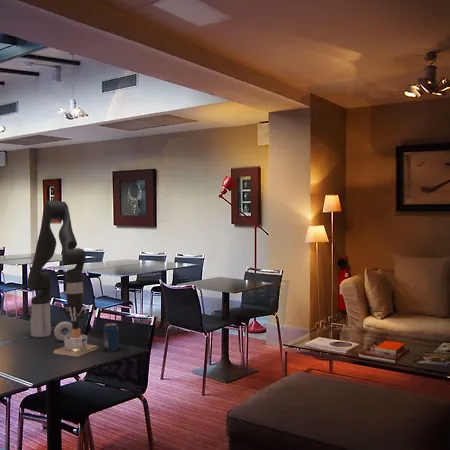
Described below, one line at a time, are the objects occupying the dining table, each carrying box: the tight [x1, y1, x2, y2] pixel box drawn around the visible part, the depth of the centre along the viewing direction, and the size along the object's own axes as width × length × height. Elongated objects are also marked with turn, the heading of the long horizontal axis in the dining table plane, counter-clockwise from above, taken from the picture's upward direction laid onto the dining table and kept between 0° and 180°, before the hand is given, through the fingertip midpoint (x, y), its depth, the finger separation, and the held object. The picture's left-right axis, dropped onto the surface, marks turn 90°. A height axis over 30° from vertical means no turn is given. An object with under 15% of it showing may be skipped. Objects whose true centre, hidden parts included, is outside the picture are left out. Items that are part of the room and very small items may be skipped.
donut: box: [53, 321, 73, 342], centre depth 257 cm, size 10×4×10 cm, turn 113°
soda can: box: [102, 322, 120, 352], centre depth 240 cm, size 7×7×12 cm
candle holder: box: [53, 334, 99, 358], centre depth 238 cm, size 14×14×6 cm
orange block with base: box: [70, 327, 83, 339], centre depth 238 cm, size 6×6×6 cm
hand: (75, 328), depth 238 cm, fingers closed
